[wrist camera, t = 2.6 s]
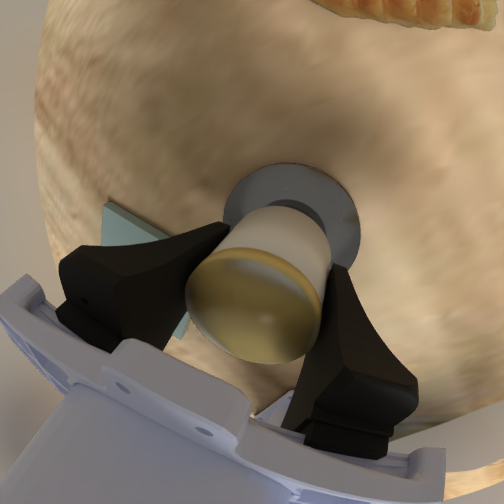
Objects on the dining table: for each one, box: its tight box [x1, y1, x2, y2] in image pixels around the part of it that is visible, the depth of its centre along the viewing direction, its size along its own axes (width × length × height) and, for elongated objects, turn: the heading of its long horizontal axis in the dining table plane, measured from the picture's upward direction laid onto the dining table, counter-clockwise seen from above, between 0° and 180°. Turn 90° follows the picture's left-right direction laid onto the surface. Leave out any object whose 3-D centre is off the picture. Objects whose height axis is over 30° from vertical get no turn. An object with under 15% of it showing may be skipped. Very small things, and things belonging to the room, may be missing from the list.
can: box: [185, 206, 331, 364], centre depth 11 cm, size 5×5×4 cm
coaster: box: [101, 201, 191, 340], centre depth 20 cm, size 9×9×1 cm
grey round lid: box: [223, 163, 361, 272], centre depth 14 cm, size 8×8×2 cm
